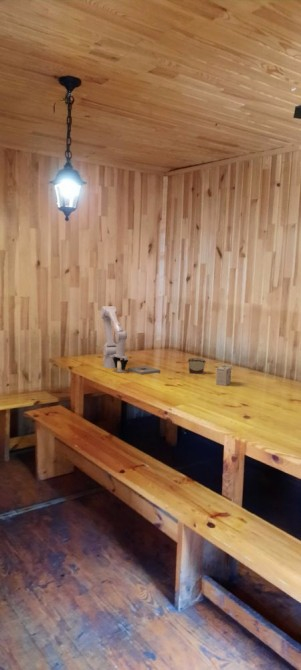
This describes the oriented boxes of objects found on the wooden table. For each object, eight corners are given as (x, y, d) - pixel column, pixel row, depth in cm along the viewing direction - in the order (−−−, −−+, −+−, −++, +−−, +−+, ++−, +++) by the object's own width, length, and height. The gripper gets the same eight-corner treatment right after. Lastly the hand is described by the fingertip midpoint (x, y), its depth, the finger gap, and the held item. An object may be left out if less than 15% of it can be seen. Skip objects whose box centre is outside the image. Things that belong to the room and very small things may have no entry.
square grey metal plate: (111, 372, 331) (111, 370, 331) (121, 371, 336) (121, 369, 336) (118, 374, 325) (118, 373, 325) (128, 373, 330) (128, 371, 330)
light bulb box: (220, 381, 316) (221, 365, 314) (231, 382, 313) (232, 366, 311) (215, 384, 306) (216, 367, 305) (226, 386, 303) (226, 369, 302)
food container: (205, 372, 342) (205, 358, 341) (205, 374, 336) (205, 360, 335) (187, 371, 343) (188, 357, 342) (187, 373, 337) (187, 359, 336)
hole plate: (127, 371, 336) (127, 367, 335) (146, 369, 345) (146, 365, 345) (141, 376, 323) (141, 372, 323) (160, 373, 333) (160, 369, 333)
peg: (115, 371, 331) (116, 361, 330) (120, 370, 333) (121, 360, 332) (119, 372, 328) (119, 362, 327) (124, 371, 330) (124, 361, 329)
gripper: (109, 347, 332) (109, 367, 334) (121, 351, 320) (121, 371, 322) (118, 347, 336) (117, 366, 338) (130, 350, 325) (129, 370, 326)
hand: (120, 368), depth 330 cm, fingers open, 7 cm apart
